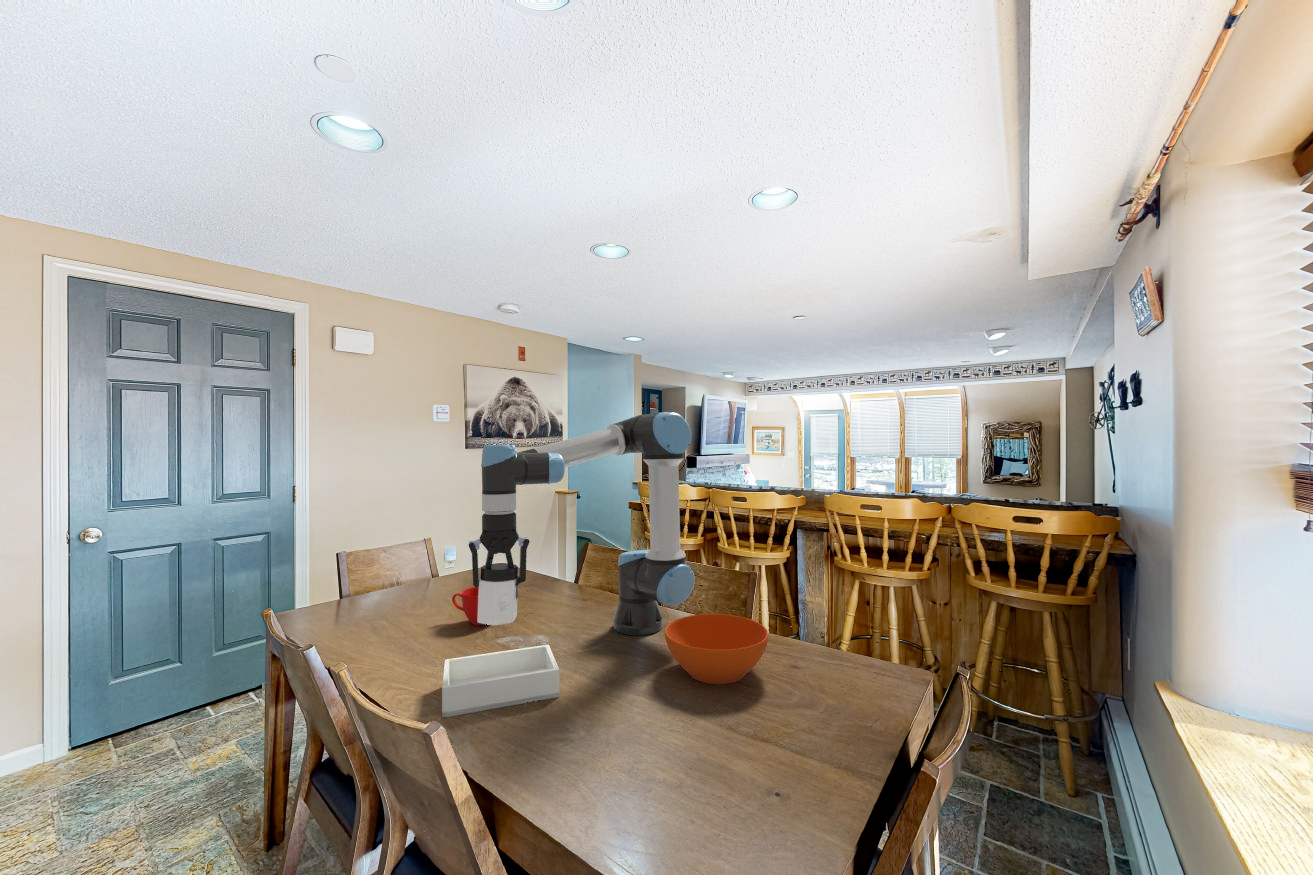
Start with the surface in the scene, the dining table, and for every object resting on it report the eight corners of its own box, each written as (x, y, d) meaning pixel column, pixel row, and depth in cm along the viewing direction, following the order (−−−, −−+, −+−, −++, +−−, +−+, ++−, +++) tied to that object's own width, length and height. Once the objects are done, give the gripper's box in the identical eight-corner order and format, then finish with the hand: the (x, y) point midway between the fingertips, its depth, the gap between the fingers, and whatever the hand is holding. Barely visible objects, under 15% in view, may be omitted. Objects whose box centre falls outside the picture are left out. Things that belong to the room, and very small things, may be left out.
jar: (482, 627, 111) (484, 571, 112) (472, 618, 118) (474, 565, 119) (522, 621, 116) (524, 567, 117) (511, 612, 123) (513, 561, 124)
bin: (549, 668, 129) (548, 644, 129) (559, 696, 114) (559, 669, 114) (445, 685, 121) (445, 659, 121) (442, 717, 106) (442, 688, 106)
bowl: (778, 659, 132) (778, 620, 133) (754, 704, 110) (753, 657, 110) (687, 645, 143) (686, 609, 143) (647, 683, 120) (647, 640, 120)
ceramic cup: (463, 614, 172) (462, 584, 173) (511, 616, 170) (511, 585, 170) (441, 628, 160) (441, 595, 160) (493, 629, 157) (493, 596, 157)
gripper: (535, 508, 125) (535, 606, 124) (459, 512, 119) (459, 614, 118) (539, 511, 118) (540, 615, 117) (458, 516, 112) (459, 625, 111)
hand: (499, 614), depth 118 cm, fingers closed on jar, 4 cm apart
